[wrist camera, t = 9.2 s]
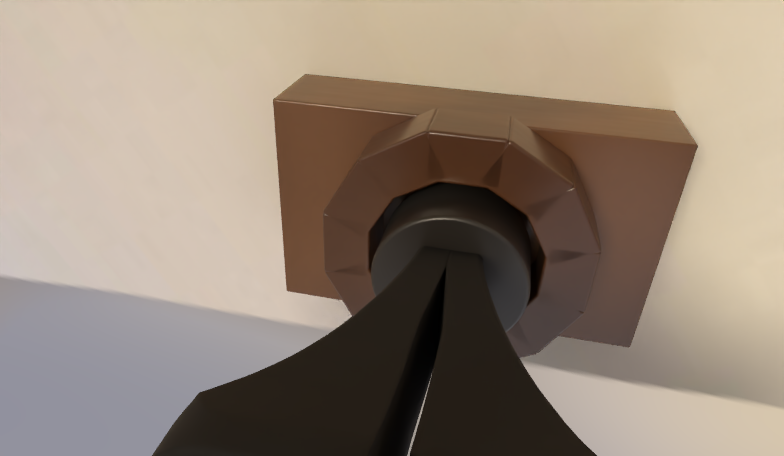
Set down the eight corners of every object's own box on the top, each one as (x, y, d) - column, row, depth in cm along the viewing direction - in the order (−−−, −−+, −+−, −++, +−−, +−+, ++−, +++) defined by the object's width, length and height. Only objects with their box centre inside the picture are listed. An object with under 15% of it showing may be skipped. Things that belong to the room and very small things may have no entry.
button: (542, 191, 13) (543, 229, 11) (518, 314, 15) (517, 360, 13) (388, 172, 14) (371, 205, 12) (384, 292, 15) (368, 335, 14)
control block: (678, 101, 14) (722, 163, 11) (616, 302, 18) (636, 398, 14) (304, 65, 16) (243, 109, 13) (312, 256, 19) (266, 331, 16)
